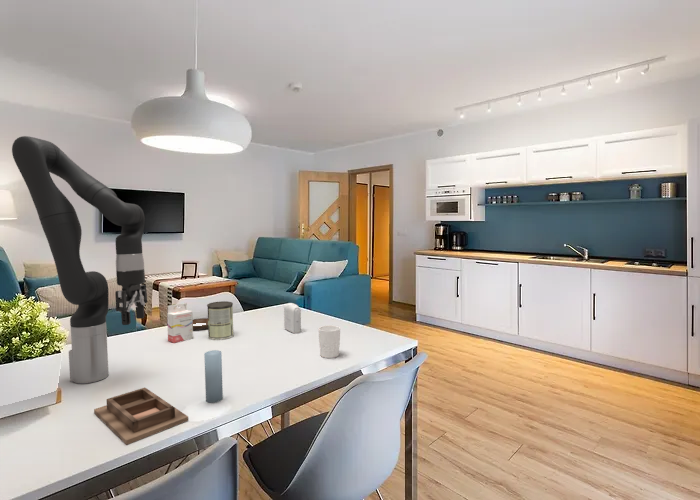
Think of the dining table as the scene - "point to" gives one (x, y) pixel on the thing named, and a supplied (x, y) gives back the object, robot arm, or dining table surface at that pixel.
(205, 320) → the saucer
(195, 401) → the dining table surface
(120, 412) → the slot rack
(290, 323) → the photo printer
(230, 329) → the coffee can
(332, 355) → the white cup
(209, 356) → the slate peg
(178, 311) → the ink cartridge box
